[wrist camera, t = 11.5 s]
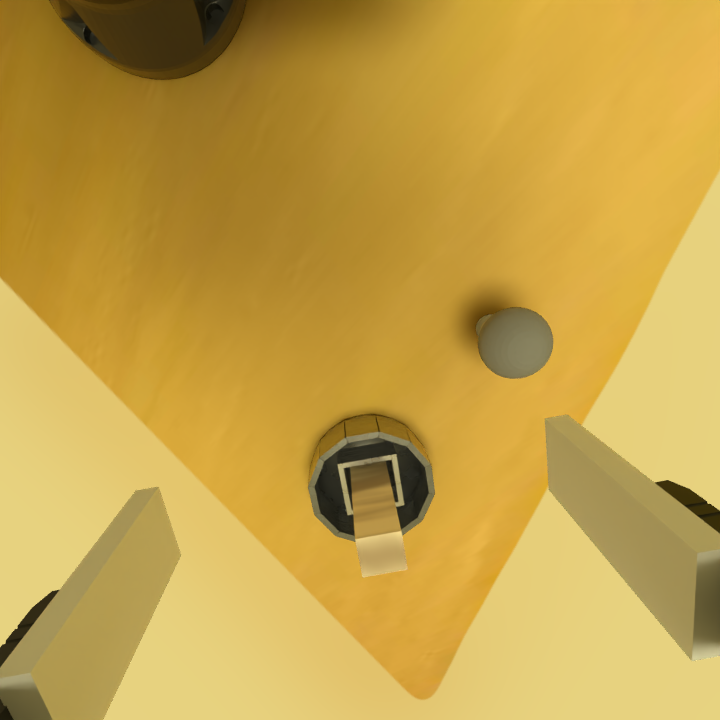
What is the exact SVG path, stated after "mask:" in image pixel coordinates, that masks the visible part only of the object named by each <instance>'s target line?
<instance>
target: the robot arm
mask: <svg viewBox="0 0 720 720" xmlns="http://www.w3.org/2000/svg"><path fill="white" fill-rule="evenodd" d="M49 1H50V3H51V5H52V6H53V8H54V9H55V11H56V13H57V14H58V15H59V17H60V18H61V19H62V21H63V22H64V23H65V24H66V26H67V27H68V28H69V29H70V30H71V31H72V33H73V34H74V35H75V36H76V37H77V38H78V39H79V40H80V41H81V42H83V43H84V44H85V45H86V46H87V47H88V48H90V49H91V50H92V51H94V52H95V53H96V54H98V55H99V56H100V57H102V58H103V59H104V60H106V61H107V62H109V63H110V64H112V65H114V66H115V67H117V68H119V69H121V70H123V71H125V72H128V73H131V74H133V75H137V76H140V77H145V78H150V79H174V78H179V77H184V76H187V75H190V74H192V73H195V72H197V71H199V70H201V69H203V68H204V67H206V66H207V65H209V64H210V63H211V62H213V61H214V60H215V59H216V58H217V57H218V56H219V55H220V54H221V53H222V52H223V51H224V50H225V48H226V47H227V46H228V44H229V43H230V41H231V40H232V38H233V36H234V35H235V33H236V31H237V29H238V26H239V24H240V21H241V18H242V15H243V12H244V7H245V3H246V0H49ZM545 430H546V448H547V466H548V484H549V490H550V492H551V493H552V494H553V495H554V496H555V498H556V499H557V500H558V501H559V502H560V504H561V505H562V506H563V507H564V509H566V511H567V512H568V513H569V514H570V516H571V517H572V518H573V519H574V520H575V522H576V523H577V524H578V525H579V526H580V528H581V529H582V530H583V531H584V532H585V534H586V535H587V536H588V537H589V538H590V540H591V541H592V542H593V543H594V544H595V546H596V547H597V548H598V549H599V550H600V552H601V553H602V554H603V555H604V556H605V558H606V559H607V560H608V561H609V562H610V564H611V565H612V566H613V567H614V568H615V570H616V571H617V572H618V573H619V574H620V576H621V577H622V578H623V579H624V580H625V582H626V583H627V584H628V585H629V586H630V587H631V589H632V590H633V591H634V592H635V594H637V596H638V597H639V598H640V600H641V601H642V602H643V603H644V604H645V606H646V607H647V608H648V609H649V610H650V612H651V613H652V614H653V615H654V616H655V618H656V619H657V620H658V621H659V622H660V624H661V625H662V626H663V627H664V628H665V630H666V631H667V632H668V633H669V634H670V635H671V637H672V638H673V639H674V640H675V641H676V643H677V644H678V645H679V646H680V647H681V649H682V650H683V651H684V652H685V653H686V655H687V656H688V657H689V658H690V659H691V660H692V661H695V660H701V659H706V658H711V657H717V656H720V511H719V510H718V509H717V508H715V507H714V506H712V505H711V504H707V501H705V500H704V499H703V498H701V497H700V496H698V495H697V494H696V493H694V492H693V491H691V490H690V489H688V488H686V487H683V486H680V485H678V484H676V483H674V482H671V481H669V480H666V481H661V482H655V483H654V482H653V481H652V480H650V479H649V478H648V477H647V476H645V475H644V474H642V473H641V472H640V471H639V470H638V469H636V468H635V467H634V466H632V465H631V464H630V463H629V462H627V461H626V460H625V459H623V458H622V457H621V456H620V455H618V454H617V453H616V452H615V451H613V450H612V449H611V448H609V447H608V446H607V445H606V444H604V443H603V442H601V441H600V440H599V439H598V438H597V437H595V436H594V435H593V434H592V433H590V432H589V431H588V430H586V429H585V428H584V427H583V426H581V425H580V424H579V423H577V422H576V421H575V420H574V419H572V418H571V417H570V416H568V415H562V416H556V417H551V418H545ZM180 556H181V554H180V550H179V547H178V545H177V541H176V539H175V535H174V532H173V529H172V526H171V523H170V520H169V517H168V514H167V511H166V508H165V505H164V502H163V499H162V496H161V493H160V490H159V487H154V488H149V489H143V490H138V491H135V492H134V494H133V495H132V496H131V498H130V499H129V500H128V502H127V503H126V504H125V505H124V507H123V508H122V510H121V511H120V512H119V513H118V515H117V516H116V517H115V519H114V520H113V521H112V522H111V524H110V525H109V527H108V528H107V529H106V530H105V532H104V533H103V534H102V536H101V537H100V538H99V539H98V541H97V542H96V543H95V545H94V546H93V547H92V549H91V550H90V551H89V553H88V554H87V555H86V556H85V558H84V559H83V560H82V562H81V563H80V564H79V565H78V567H77V568H76V569H75V571H74V572H73V573H72V575H71V576H70V577H69V578H68V580H67V581H66V583H65V584H64V585H63V586H62V588H61V589H60V590H57V591H52V592H51V593H49V594H48V595H47V596H46V597H45V598H43V599H42V600H41V601H40V602H39V603H37V604H36V605H35V606H34V607H33V608H32V609H31V610H30V611H29V612H28V614H27V615H26V616H25V618H24V619H23V620H22V621H21V622H20V624H19V625H18V629H15V630H14V631H13V632H12V634H11V635H10V636H9V638H8V639H7V640H6V644H4V645H2V646H1V647H0V720H103V719H104V717H105V715H106V712H107V710H108V708H109V706H110V704H111V702H112V700H113V698H114V695H115V694H116V691H117V689H118V687H119V685H120V683H121V681H122V679H123V677H124V674H125V672H126V670H127V668H128V666H129V664H130V662H131V660H132V658H133V656H134V653H135V651H136V649H137V647H138V645H139V643H140V641H141V639H142V637H143V634H144V632H145V630H146V628H147V626H148V624H149V622H150V620H151V618H152V615H153V613H154V611H155V609H156V607H157V605H158V603H159V601H160V598H161V596H162V594H163V592H164V590H165V588H166V586H167V584H168V582H169V579H170V577H171V575H172V573H173V571H174V569H175V566H176V565H177V563H178V560H179V558H180Z"/></svg>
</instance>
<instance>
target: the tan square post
mask: <svg viewBox="0 0 720 720" xmlns="http://www.w3.org/2000/svg"><path fill="white" fill-rule="evenodd" d="M350 473H351V487H352V502H353V516H354V531H355V541H356V546H357V551H358V556H359V561H360V566H361V571H362V576H363V577H369V576H374V575H380V574H385V573H391V572H396V571H402V570H408V568H407V562H406V556H405V550H404V544H403V538H402V532H401V527H400V523H399V518H398V514H397V509H396V505H395V501H394V496H393V492H392V487H391V483H390V478H389V474H388V470H387V465H386V461H380V462H375V463H369V464H363V465H358V466H352V467H350Z"/></svg>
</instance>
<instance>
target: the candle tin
mask: <svg viewBox="0 0 720 720" xmlns="http://www.w3.org/2000/svg"><path fill="white" fill-rule="evenodd" d="M380 461H386V465H387V470H388V474H389V478H390V483H391V487H392V492H393V496H394V501H395V505H396V509H397V514H398V518H399V523H400V527H401V532H402V535H404V534H405V533H406V532H408V531H409V530H410V529H412V528H413V527H415V526H416V525H417V524H419V523H420V522H421V521H422V520H423V519H424V516H425V514H426V512H427V510H428V508H429V506H430V504H431V501H432V499H433V497H434V495H435V490H434V482H433V475H432V468H431V464H430V461H429V459H428V456H427V454H426V452H425V449H424V447H423V445H422V444H421V443H420V442H419V441H418V439H417V438H416V436H415V435H414V434H413V433H412V432H411V431H410V430H409V429H408V428H407V427H406V426H405V425H404V424H402V423H400V422H398V421H396V420H394V419H391V418H389V417H385V416H380V415H361V416H356V417H352V418H349V419H347V420H344V421H342V422H340V423H338V424H337V425H336V426H334V427H333V428H331V429H330V430H329V431H328V432H327V433H326V434H325V435H324V437H323V438H322V439H321V440H320V442H319V444H318V446H317V448H316V450H315V453H314V457H313V460H312V463H311V465H310V473H309V483H308V489H309V493H310V498H311V502H312V507H313V511H314V515H315V516H316V517H317V518H318V519H319V520H320V521H321V522H322V523H323V524H324V525H325V526H326V527H327V528H328V529H329V530H330V531H331V532H332V533H333V534H334V535H335V536H337V537H340V538H344V539H347V540H351V541H354V542H356V541H355V531H354V516H353V502H352V487H351V473H350V467H352V466H358V465H363V464H369V463H375V462H380Z"/></svg>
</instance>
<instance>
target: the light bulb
mask: <svg viewBox="0 0 720 720" xmlns="http://www.w3.org/2000/svg"><path fill="white" fill-rule="evenodd" d="M476 333H477V335H478V336H479V337H478V349H479V353H480V356H481V359H482V360H483V362H484V363H485V365H486V366H487V367H488V368H489V369H490V370H491V371H492V372H494V373H495V374H497V375H499V376H502V377H505V378H511V379H515V378H524V377H528V376H530V375H532V374H534V373H536V372H537V371H539V370H540V369H541V368H542V367H543V366H544V365H545V364H546V363H547V361H548V359H549V358H550V356H551V352H552V349H553V335H552V332H551V329H550V327H549V325H548V323H547V322H546V321H545V320H544V318H543V317H542V316H541V315H539V314H538V313H536V312H534V311H532V310H529V309H526V308H521V307H511V308H507V309H503V310H501V311H498V312H496V313H495V314H493V315H492V314H489V315H485V316H483V317H482V318H480V319H479V321H478V322H477V325H476Z"/></svg>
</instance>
